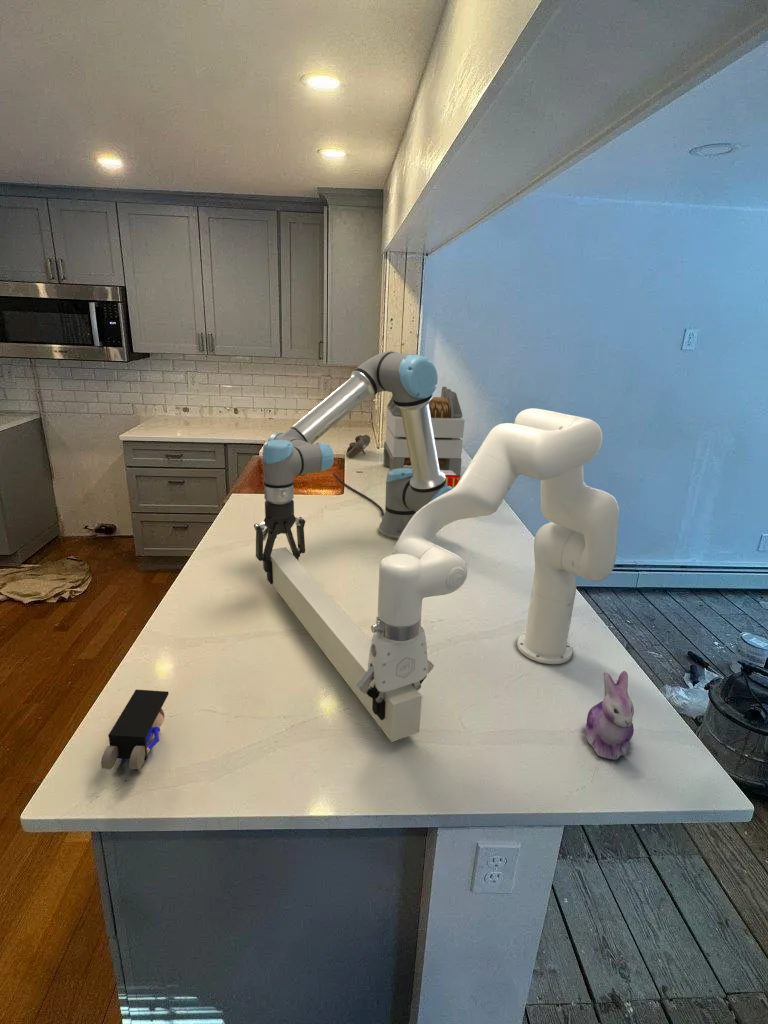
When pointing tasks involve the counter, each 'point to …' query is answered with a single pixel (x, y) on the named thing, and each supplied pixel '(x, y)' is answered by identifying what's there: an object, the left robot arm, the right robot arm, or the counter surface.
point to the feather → (265, 532)
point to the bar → (342, 642)
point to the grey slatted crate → (444, 428)
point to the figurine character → (135, 730)
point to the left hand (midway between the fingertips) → (281, 579)
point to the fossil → (358, 446)
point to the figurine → (611, 719)
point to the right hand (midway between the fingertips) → (394, 708)
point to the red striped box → (451, 478)
